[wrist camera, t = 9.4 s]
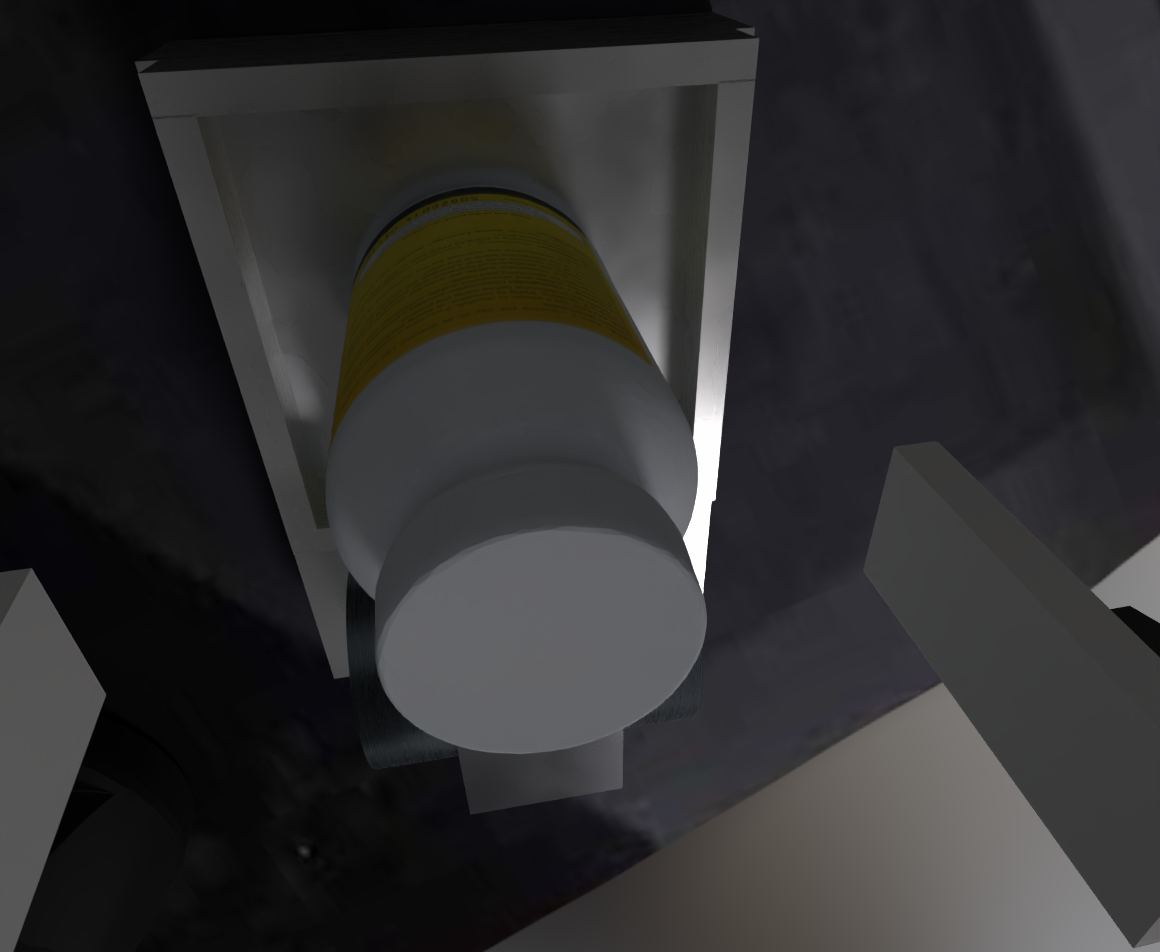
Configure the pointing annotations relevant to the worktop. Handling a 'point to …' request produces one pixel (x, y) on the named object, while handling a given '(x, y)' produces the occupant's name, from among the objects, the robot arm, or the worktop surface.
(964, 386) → the worktop surface
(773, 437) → the worktop surface
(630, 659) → the pill bottle
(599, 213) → the motor base
